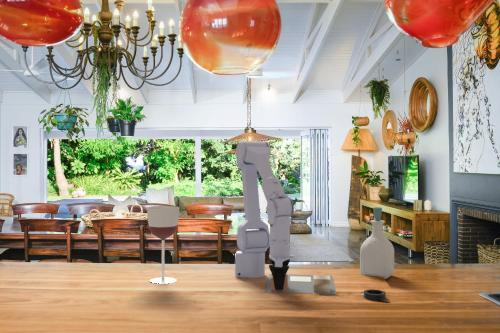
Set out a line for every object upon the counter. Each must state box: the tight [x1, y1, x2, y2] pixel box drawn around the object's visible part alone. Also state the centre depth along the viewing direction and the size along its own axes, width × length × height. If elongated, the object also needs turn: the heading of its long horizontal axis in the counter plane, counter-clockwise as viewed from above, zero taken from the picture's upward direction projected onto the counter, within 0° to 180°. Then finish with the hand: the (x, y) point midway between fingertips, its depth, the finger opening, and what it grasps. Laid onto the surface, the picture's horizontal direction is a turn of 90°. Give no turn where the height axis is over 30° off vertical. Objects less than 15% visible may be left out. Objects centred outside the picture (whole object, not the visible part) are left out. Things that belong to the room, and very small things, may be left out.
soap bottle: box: [359, 206, 395, 280], centre depth 166 cm, size 10×10×23 cm
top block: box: [312, 274, 331, 292], centre depth 144 cm, size 5×5×4 cm
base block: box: [271, 273, 288, 291], centre depth 145 cm, size 5×5×4 cm
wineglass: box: [146, 205, 180, 285], centre depth 159 cm, size 9×10×23 cm
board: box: [264, 273, 338, 295], centre depth 152 cm, size 20×22×1 cm
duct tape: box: [359, 288, 392, 304], centre depth 137 cm, size 8×10×3 cm
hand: (279, 286), depth 145 cm, fingers open, 6 cm apart
